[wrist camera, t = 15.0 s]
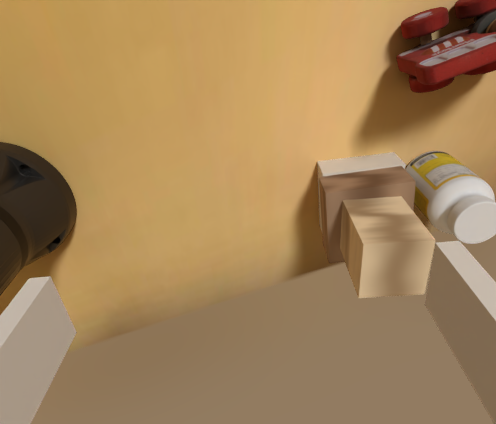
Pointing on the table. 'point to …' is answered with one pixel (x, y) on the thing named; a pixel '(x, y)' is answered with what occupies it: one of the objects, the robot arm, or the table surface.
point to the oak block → (385, 247)
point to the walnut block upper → (358, 187)
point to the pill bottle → (453, 197)
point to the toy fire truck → (449, 45)
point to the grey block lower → (355, 167)
